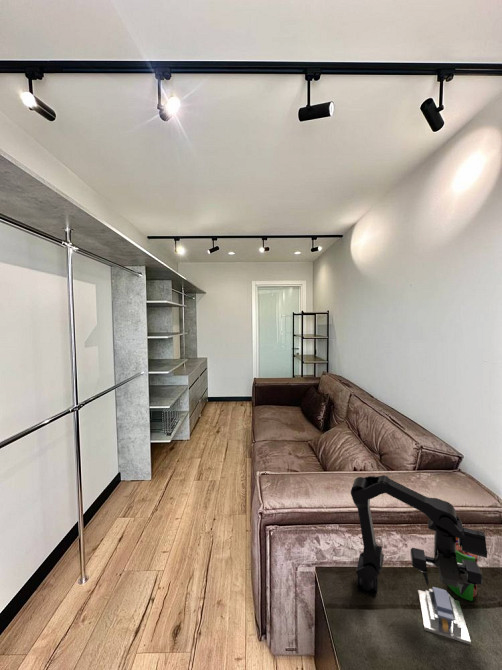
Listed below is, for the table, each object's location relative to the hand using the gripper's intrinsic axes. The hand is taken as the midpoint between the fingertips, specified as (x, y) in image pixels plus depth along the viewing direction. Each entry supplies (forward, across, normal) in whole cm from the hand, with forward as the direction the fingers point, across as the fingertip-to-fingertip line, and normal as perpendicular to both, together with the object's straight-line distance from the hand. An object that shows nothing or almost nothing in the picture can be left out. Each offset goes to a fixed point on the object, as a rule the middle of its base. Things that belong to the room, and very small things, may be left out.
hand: (443, 588), depth 96 cm
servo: (+9, 0, 0) cm, 9 cm away
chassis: (+10, 0, 0) cm, 10 cm away
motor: (+10, +8, +14) cm, 19 cm away
